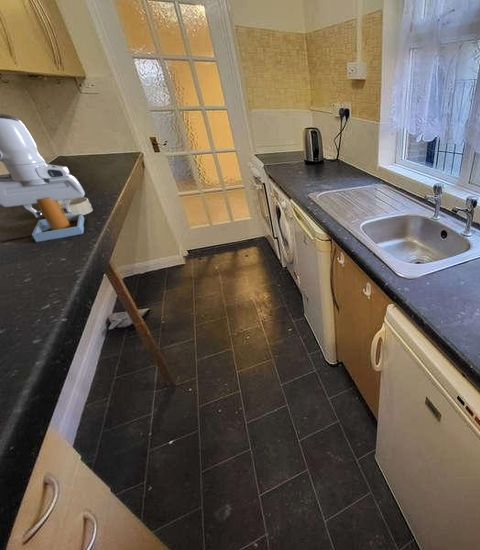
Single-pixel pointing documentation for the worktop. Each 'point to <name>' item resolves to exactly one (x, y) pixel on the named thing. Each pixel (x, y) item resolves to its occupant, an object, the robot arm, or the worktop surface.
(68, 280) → the worktop surface
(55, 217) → the orange capped cylinder
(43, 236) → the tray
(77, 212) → the bowl
